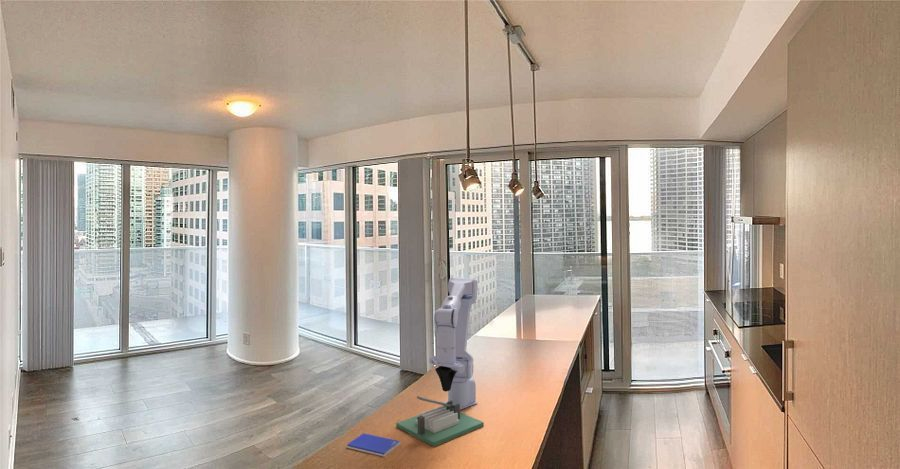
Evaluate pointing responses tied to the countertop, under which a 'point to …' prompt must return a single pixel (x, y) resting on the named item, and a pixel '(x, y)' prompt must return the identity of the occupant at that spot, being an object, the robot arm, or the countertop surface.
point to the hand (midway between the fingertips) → (446, 390)
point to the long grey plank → (435, 402)
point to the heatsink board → (440, 424)
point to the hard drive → (373, 444)
